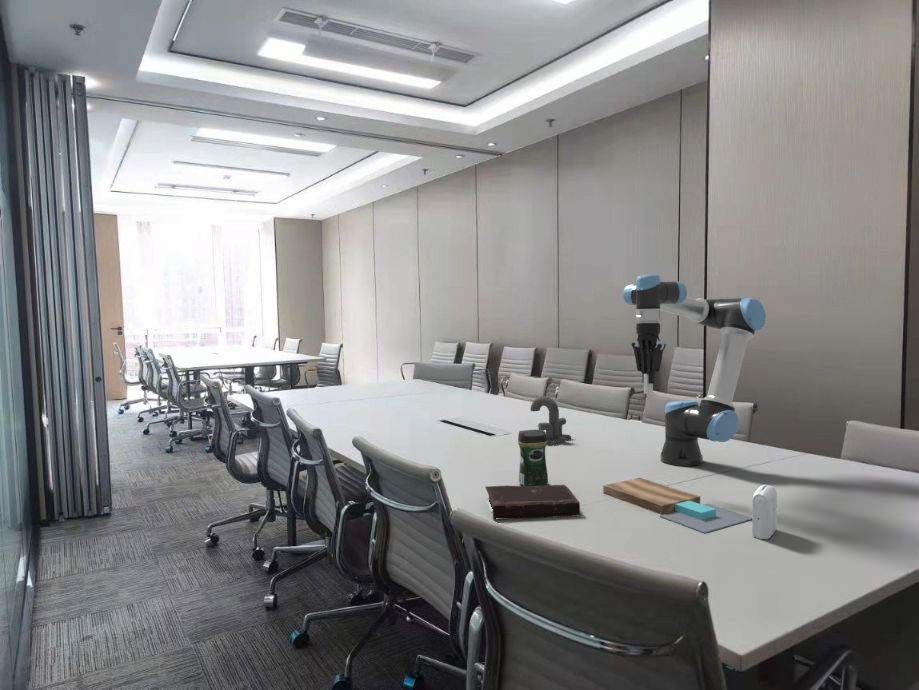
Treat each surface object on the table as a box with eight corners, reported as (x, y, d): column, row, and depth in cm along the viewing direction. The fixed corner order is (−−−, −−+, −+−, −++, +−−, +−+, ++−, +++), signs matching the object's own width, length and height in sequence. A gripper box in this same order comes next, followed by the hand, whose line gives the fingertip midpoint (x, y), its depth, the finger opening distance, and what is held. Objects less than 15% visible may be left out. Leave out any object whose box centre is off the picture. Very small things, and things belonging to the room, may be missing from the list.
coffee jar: (542, 480, 208) (542, 427, 207) (550, 486, 200) (550, 431, 199) (515, 482, 206) (515, 428, 205) (522, 488, 198) (521, 433, 197)
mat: (707, 504, 179) (707, 503, 178) (753, 519, 165) (753, 518, 165) (659, 516, 169) (659, 515, 169) (704, 533, 156) (704, 532, 156)
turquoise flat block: (689, 507, 175) (689, 500, 175) (715, 516, 168) (715, 509, 167) (675, 510, 173) (675, 504, 172) (701, 520, 165) (701, 513, 165)
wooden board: (639, 485, 199) (639, 477, 199) (700, 504, 178) (700, 496, 178) (603, 493, 192) (603, 485, 192) (661, 514, 171) (661, 505, 171)
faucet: (540, 434, 283) (540, 392, 282) (571, 438, 274) (571, 394, 273) (521, 442, 269) (520, 397, 268) (553, 446, 260) (552, 400, 258)
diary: (580, 518, 171) (580, 501, 171) (493, 522, 169) (493, 505, 169) (563, 497, 190) (563, 482, 189) (485, 501, 188) (484, 485, 187)
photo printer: (768, 541, 150) (769, 492, 149) (750, 537, 152) (750, 489, 152) (778, 529, 158) (779, 483, 157) (760, 526, 160) (761, 480, 160)
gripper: (625, 322, 202) (625, 392, 204) (655, 322, 191) (655, 396, 192) (641, 321, 206) (641, 390, 207) (671, 322, 194) (671, 394, 196)
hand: (648, 393), depth 200 cm, fingers closed
